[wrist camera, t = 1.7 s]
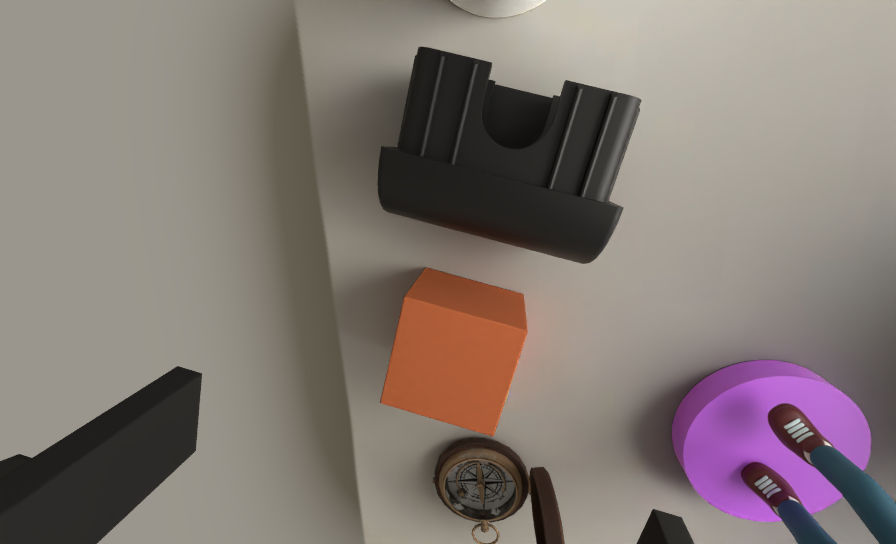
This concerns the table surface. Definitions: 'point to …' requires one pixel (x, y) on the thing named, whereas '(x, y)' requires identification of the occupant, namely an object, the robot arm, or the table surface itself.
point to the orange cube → (455, 350)
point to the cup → (497, 7)
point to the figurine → (779, 449)
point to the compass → (496, 487)
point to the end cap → (507, 158)
